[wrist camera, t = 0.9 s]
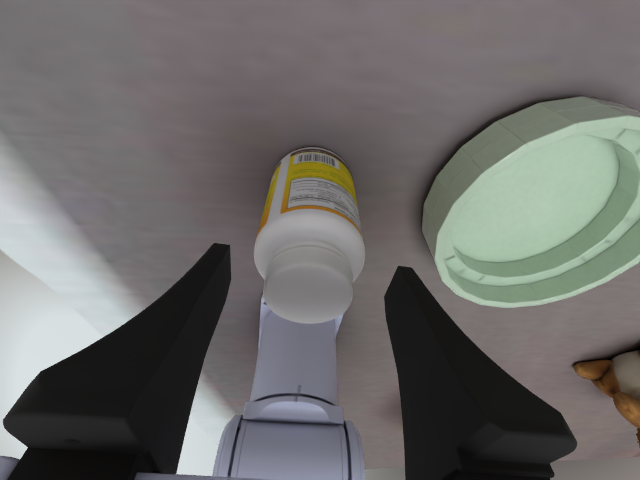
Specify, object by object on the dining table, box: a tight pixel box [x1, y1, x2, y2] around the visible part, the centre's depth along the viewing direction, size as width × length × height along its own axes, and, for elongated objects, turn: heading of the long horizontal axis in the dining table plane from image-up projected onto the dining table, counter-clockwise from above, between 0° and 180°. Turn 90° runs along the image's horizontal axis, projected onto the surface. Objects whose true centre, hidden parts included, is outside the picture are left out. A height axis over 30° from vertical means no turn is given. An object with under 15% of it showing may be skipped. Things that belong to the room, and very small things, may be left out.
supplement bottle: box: [254, 147, 365, 324], centre depth 17 cm, size 6×6×10 cm
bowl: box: [422, 97, 640, 308], centre depth 20 cm, size 14×14×4 cm
